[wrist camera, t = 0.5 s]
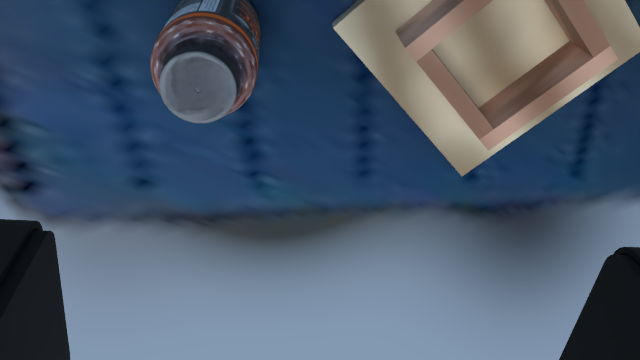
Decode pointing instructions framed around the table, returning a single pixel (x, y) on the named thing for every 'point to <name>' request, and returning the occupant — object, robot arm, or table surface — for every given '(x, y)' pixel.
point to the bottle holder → (487, 62)
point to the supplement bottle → (207, 58)
